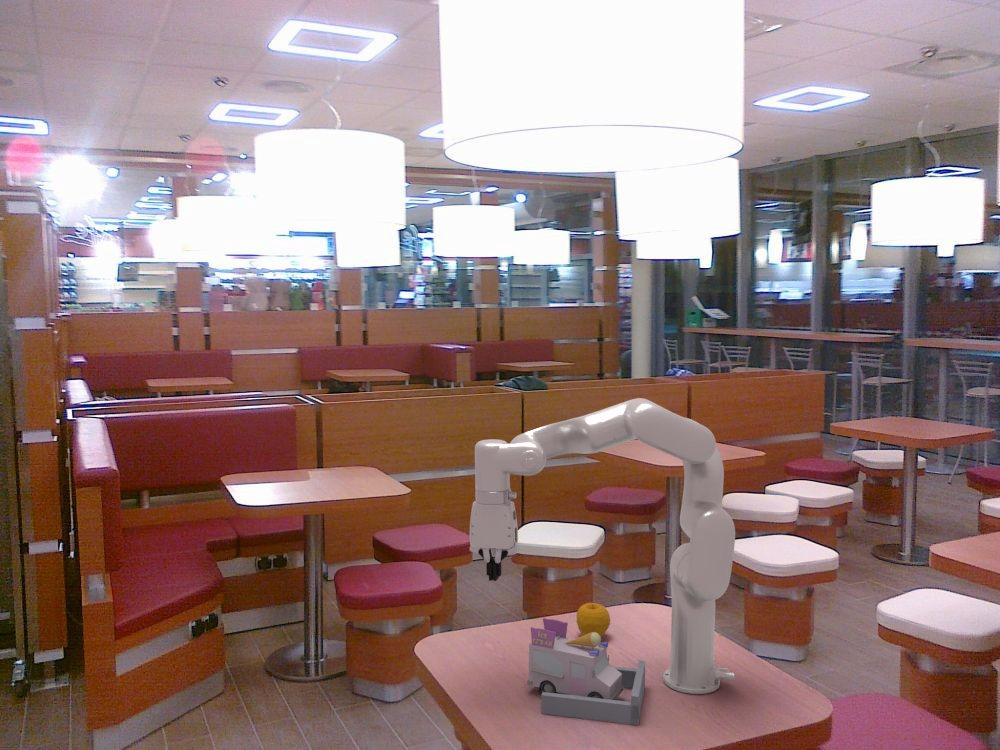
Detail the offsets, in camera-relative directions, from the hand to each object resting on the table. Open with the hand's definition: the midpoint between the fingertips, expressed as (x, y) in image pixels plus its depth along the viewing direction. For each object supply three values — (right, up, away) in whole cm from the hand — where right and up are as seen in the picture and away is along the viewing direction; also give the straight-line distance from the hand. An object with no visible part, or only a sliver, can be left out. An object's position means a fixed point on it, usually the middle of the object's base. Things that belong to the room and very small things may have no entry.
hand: (494, 578), depth 191 cm
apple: (+25, -23, +31) cm, 46 cm away
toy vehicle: (+18, -25, -1) cm, 31 cm away
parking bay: (+22, -25, -3) cm, 34 cm away
